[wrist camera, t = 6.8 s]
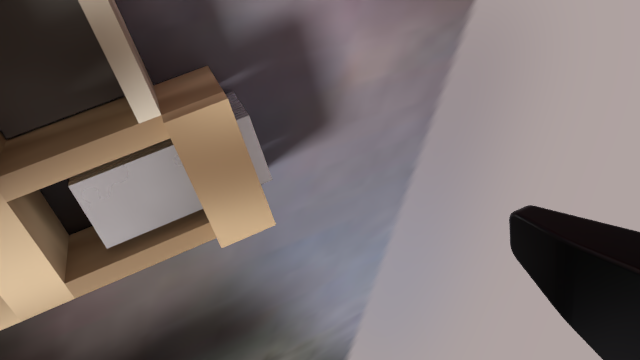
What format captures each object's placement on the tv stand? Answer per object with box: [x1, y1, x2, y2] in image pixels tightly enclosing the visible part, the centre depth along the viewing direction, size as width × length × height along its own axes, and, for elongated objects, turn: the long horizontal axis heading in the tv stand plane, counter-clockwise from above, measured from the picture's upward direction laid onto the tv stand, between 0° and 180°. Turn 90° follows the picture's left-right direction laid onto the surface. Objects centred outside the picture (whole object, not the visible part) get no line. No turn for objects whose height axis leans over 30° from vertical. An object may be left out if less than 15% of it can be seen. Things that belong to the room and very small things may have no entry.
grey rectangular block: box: [68, 91, 272, 249], centre depth 19 cm, size 3×6×3 cm, turn 104°
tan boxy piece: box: [0, 0, 161, 139], centre depth 16 cm, size 5×5×3 cm
